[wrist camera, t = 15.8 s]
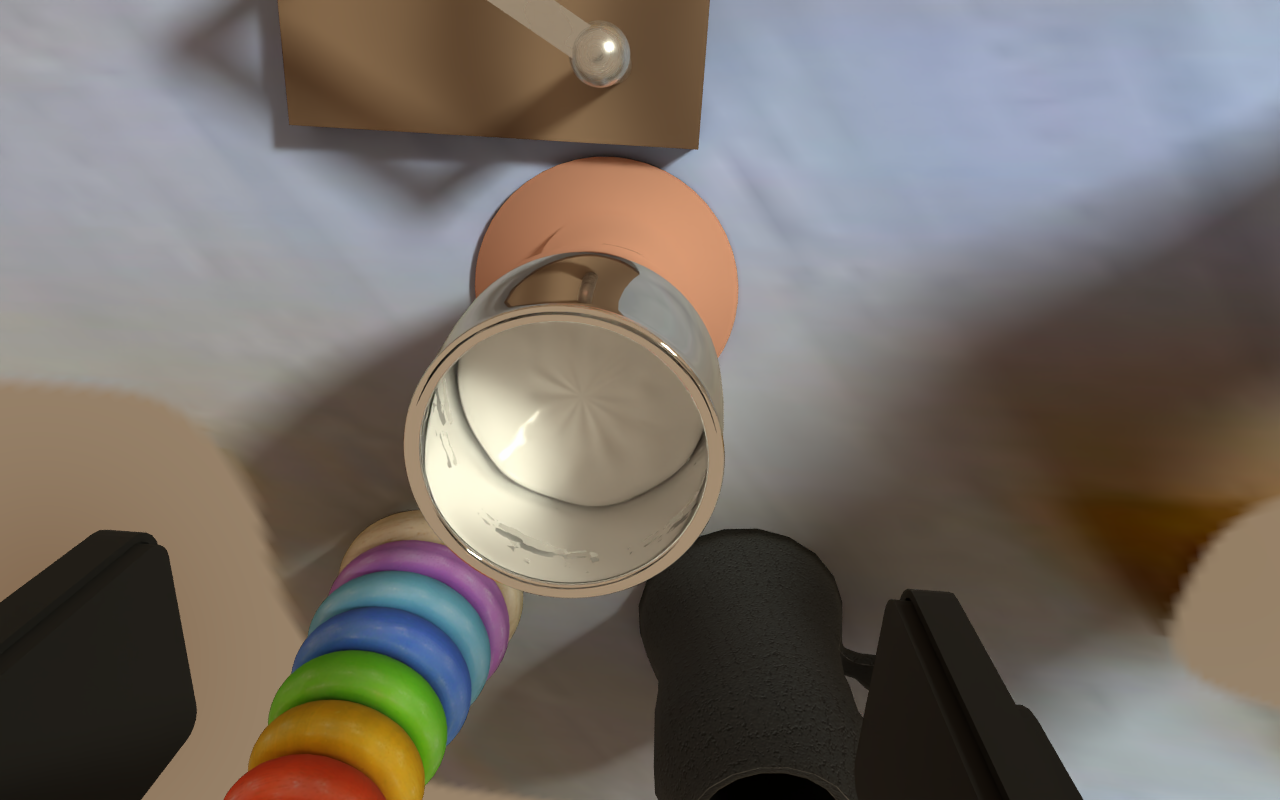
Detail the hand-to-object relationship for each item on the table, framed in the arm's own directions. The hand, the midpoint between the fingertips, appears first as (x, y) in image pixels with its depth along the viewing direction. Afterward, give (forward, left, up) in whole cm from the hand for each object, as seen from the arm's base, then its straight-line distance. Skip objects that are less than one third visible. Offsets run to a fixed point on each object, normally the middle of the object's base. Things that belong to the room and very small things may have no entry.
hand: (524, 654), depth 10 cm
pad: (0, 0, -21) cm, 21 cm away
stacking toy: (+7, +14, -22) cm, 27 cm away
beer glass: (0, 0, -21) cm, 21 cm away
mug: (-8, +15, -22) cm, 27 cm away
